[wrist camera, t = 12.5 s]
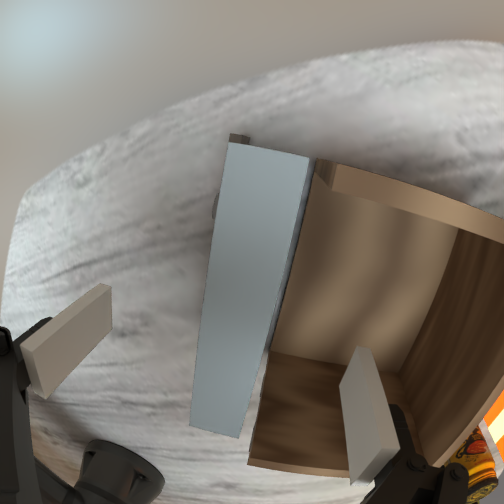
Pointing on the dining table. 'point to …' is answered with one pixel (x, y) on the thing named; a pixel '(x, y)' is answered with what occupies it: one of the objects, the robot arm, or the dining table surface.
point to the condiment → (476, 466)
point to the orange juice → (497, 423)
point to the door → (243, 279)
